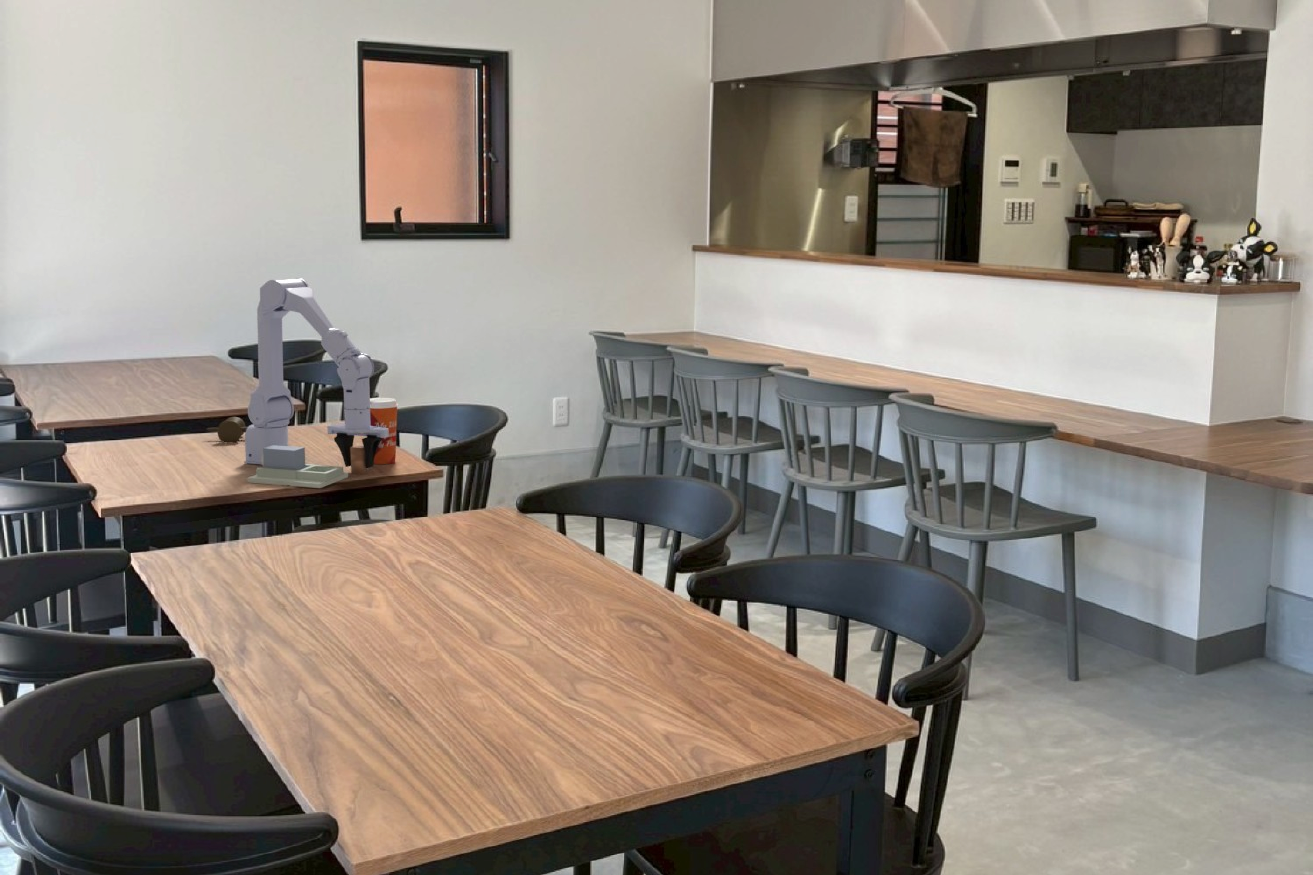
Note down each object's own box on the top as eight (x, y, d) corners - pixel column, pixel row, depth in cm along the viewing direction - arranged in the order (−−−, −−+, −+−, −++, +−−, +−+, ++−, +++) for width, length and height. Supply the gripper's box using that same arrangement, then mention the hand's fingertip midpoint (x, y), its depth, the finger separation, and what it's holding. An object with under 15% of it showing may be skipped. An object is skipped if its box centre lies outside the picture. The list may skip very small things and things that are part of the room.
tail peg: (348, 473, 292) (347, 448, 291) (356, 470, 295) (355, 445, 294) (362, 475, 291) (361, 449, 290) (370, 471, 294) (369, 446, 293)
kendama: (284, 444, 330) (203, 443, 327) (288, 438, 339) (209, 438, 336) (284, 421, 329) (202, 420, 326) (288, 416, 338) (209, 415, 335)
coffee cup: (380, 466, 300) (378, 403, 297) (357, 462, 305) (355, 400, 302) (407, 461, 307) (406, 399, 304) (384, 457, 312) (382, 396, 309)
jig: (247, 482, 282) (246, 469, 282) (278, 471, 293) (277, 459, 293) (320, 488, 277) (320, 475, 277) (349, 477, 289) (348, 465, 288)
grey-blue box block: (260, 474, 286) (259, 448, 285) (270, 470, 289) (269, 444, 288) (295, 477, 283) (294, 450, 282) (305, 473, 287) (304, 447, 286)
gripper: (319, 408, 289) (321, 467, 291) (377, 412, 285) (379, 472, 287) (335, 404, 295) (337, 462, 298) (392, 407, 291) (394, 466, 294)
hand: (359, 466), depth 293 cm, fingers open, 5 cm apart
